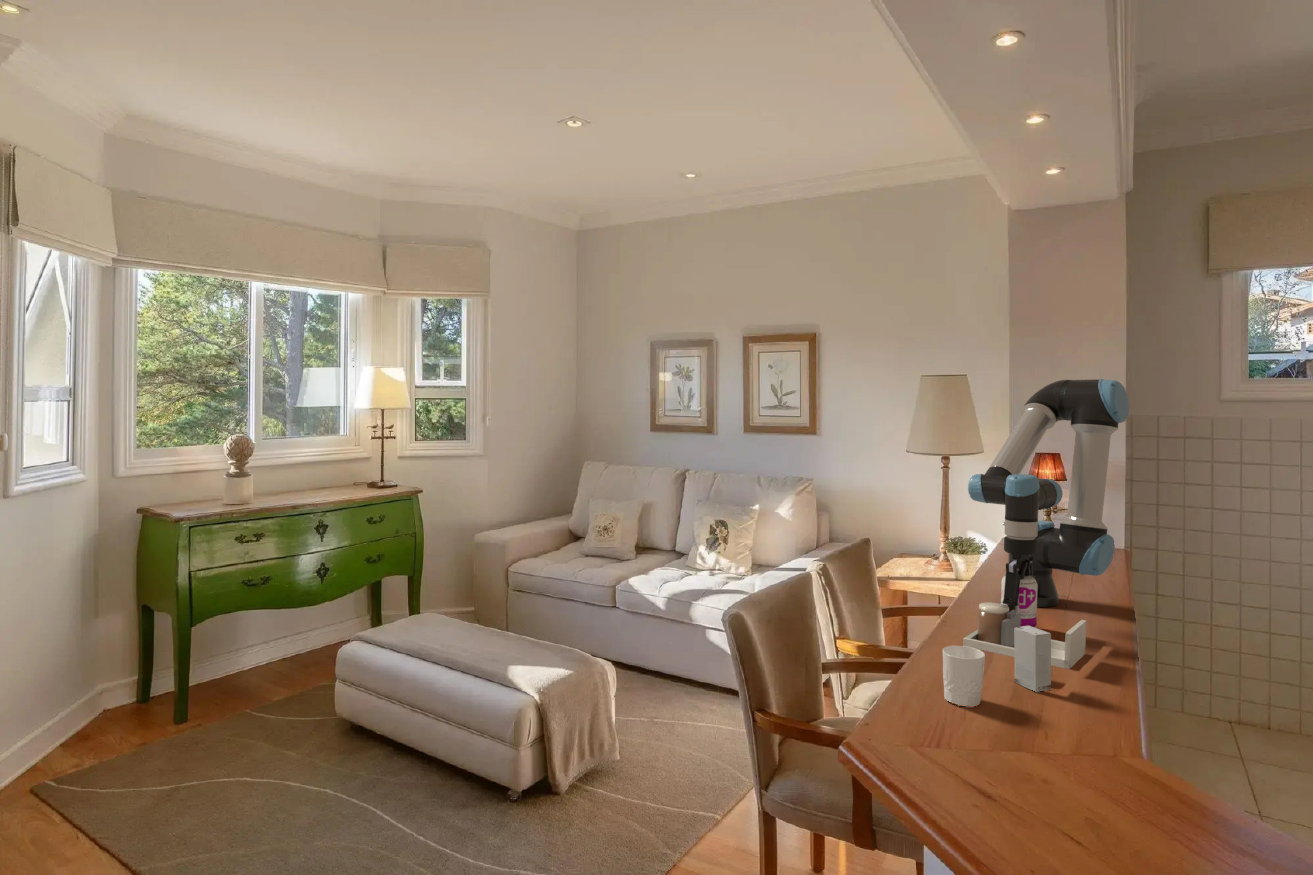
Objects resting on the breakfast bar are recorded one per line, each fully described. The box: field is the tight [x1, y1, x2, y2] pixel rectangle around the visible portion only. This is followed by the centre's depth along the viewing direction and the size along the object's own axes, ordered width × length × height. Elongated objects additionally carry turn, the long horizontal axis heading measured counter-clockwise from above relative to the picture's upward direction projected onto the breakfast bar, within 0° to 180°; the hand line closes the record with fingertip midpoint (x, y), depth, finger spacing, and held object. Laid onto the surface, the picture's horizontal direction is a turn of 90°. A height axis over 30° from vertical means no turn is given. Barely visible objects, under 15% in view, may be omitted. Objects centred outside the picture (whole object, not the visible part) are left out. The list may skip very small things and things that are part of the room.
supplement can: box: [1000, 573, 1038, 628], centre depth 197 cm, size 8×8×15 cm
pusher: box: [1001, 610, 1021, 647], centre depth 185 cm, size 10×1×8 cm, turn 138°
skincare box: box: [1014, 626, 1052, 693], centre depth 164 cm, size 6×4×12 cm
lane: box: [962, 619, 1087, 670], centre depth 183 cm, size 13×23×9 cm, turn 48°
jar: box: [977, 601, 1010, 645], centre depth 187 cm, size 7×7×9 cm
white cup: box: [941, 645, 986, 706], centre depth 156 cm, size 8×8×10 cm
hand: (1018, 626), depth 197 cm, fingers closed on supplement can, 8 cm apart
